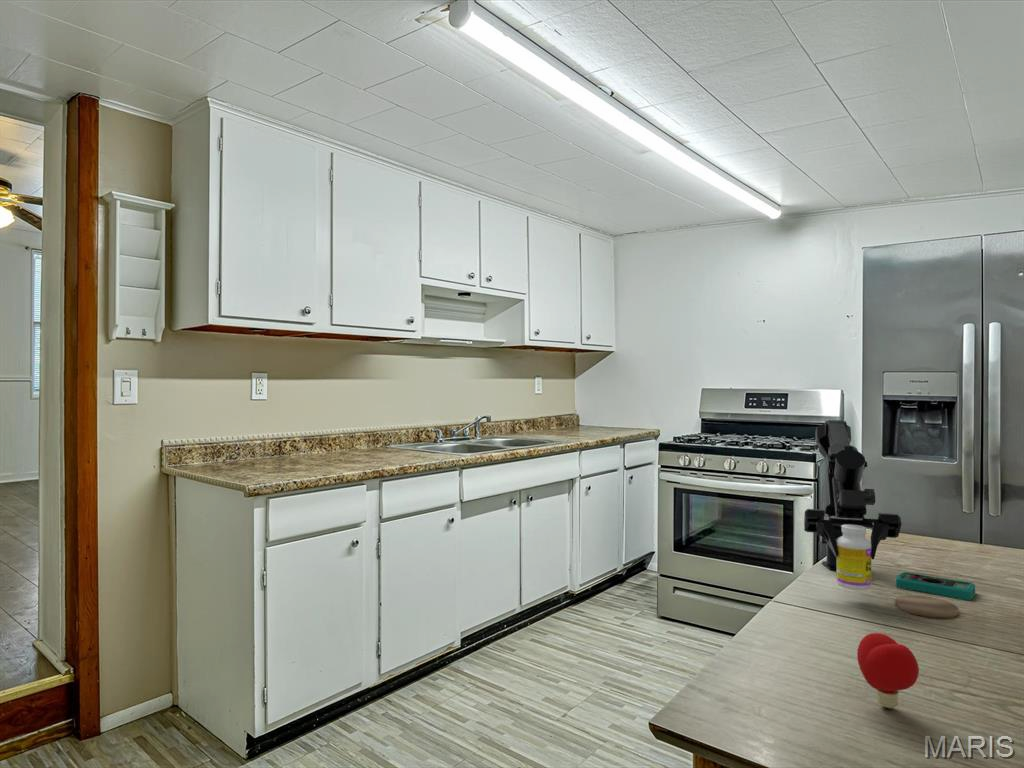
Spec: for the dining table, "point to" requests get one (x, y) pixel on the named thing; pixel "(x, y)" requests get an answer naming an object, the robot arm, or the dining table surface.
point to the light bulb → (886, 667)
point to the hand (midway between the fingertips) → (854, 557)
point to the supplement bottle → (854, 558)
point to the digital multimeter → (936, 585)
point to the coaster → (926, 606)
